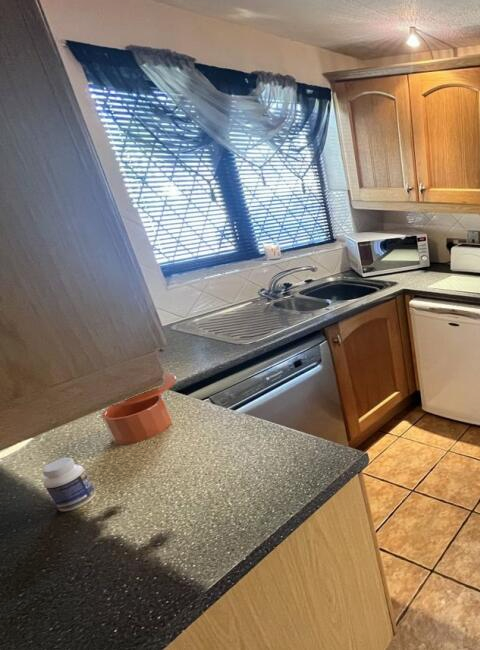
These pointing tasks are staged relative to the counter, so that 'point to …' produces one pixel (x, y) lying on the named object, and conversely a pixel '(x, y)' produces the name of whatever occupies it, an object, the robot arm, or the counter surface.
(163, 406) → the pot
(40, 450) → the counter surface
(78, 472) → the pill bottle
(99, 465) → the counter surface
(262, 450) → the counter surface
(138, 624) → the counter surface
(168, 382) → the lid
